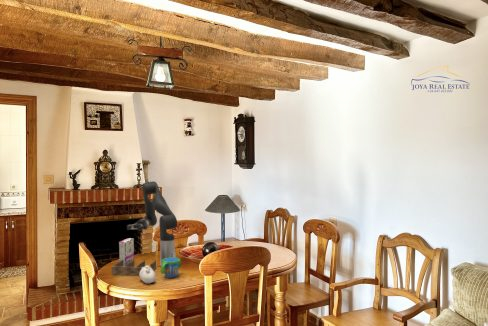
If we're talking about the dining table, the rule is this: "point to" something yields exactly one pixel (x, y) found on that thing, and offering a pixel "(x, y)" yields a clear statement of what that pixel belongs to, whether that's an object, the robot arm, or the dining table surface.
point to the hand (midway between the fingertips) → (133, 228)
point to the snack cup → (170, 267)
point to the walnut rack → (130, 268)
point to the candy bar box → (126, 250)
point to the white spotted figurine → (147, 274)
